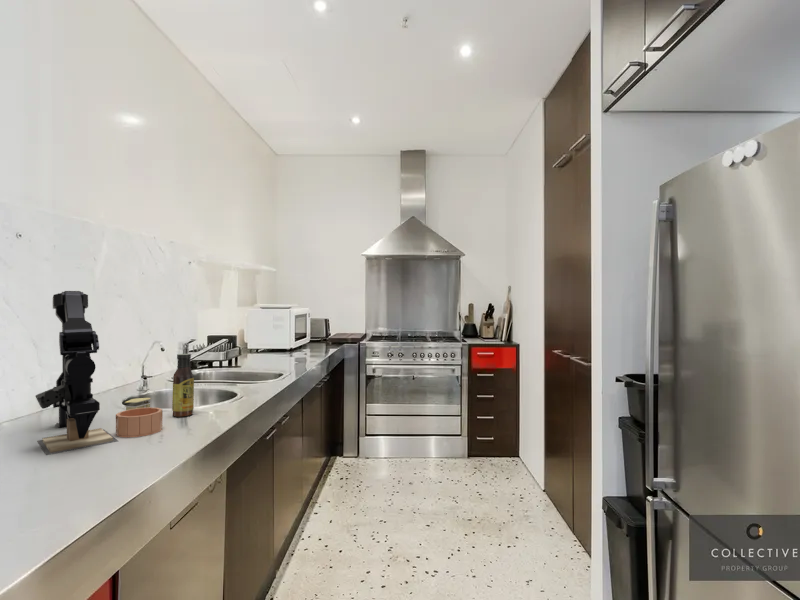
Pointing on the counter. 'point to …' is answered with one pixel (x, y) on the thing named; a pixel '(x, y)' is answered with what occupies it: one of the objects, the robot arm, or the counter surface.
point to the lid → (75, 438)
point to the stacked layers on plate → (138, 403)
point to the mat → (73, 448)
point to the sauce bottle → (183, 387)
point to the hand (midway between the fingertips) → (77, 434)
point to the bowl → (138, 422)
